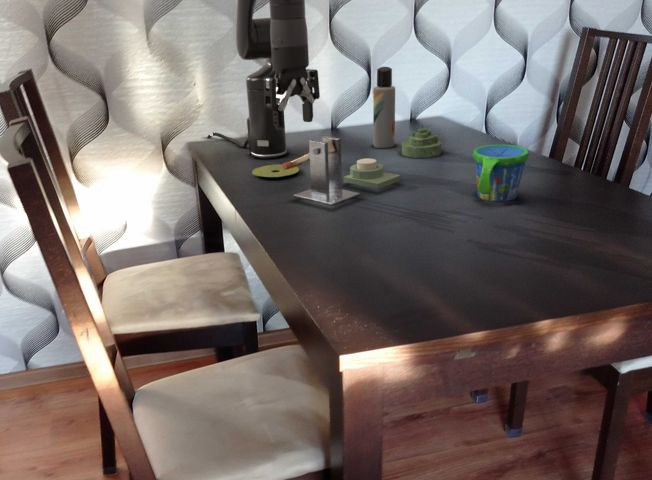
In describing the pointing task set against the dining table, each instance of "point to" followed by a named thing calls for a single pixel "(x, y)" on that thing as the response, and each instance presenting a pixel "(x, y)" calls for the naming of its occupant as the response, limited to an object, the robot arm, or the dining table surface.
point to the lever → (305, 158)
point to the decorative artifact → (421, 144)
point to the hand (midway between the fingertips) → (294, 125)
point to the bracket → (326, 174)
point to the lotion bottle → (384, 109)
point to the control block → (371, 177)
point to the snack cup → (499, 171)
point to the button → (366, 164)
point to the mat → (274, 171)
